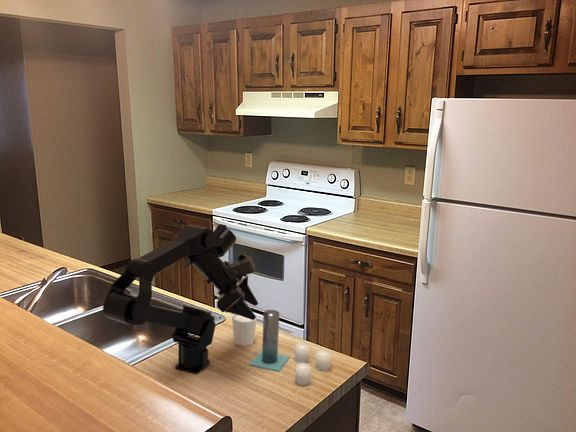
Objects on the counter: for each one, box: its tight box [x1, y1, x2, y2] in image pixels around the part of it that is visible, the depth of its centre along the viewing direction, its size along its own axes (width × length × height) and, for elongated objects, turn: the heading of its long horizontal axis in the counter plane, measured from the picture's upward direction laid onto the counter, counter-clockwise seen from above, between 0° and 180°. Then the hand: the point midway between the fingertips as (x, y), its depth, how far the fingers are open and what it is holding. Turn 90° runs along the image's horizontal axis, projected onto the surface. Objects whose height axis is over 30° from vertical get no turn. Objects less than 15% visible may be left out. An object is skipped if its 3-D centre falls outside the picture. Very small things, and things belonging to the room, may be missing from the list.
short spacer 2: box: [294, 362, 312, 386], centre depth 117 cm, size 4×4×4 cm
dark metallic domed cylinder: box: [261, 309, 280, 364], centre depth 125 cm, size 4×4×13 cm
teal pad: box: [249, 349, 290, 372], centre depth 127 cm, size 8×8×1 cm
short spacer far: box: [315, 349, 332, 372], centre depth 124 cm, size 4×4×4 cm
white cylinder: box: [231, 314, 257, 347], centre depth 137 cm, size 7×7×7 cm
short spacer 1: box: [293, 342, 310, 364], centre depth 128 cm, size 4×4×4 cm
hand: (255, 311), depth 124 cm, fingers open, 9 cm apart
